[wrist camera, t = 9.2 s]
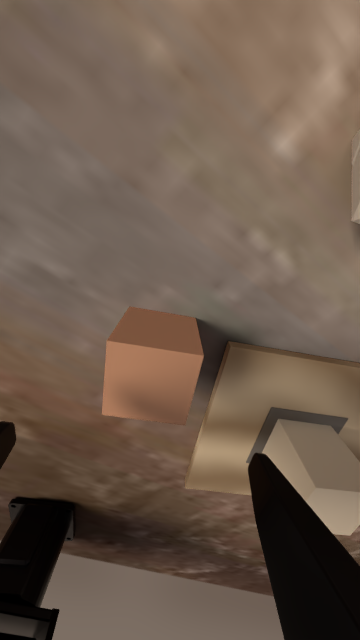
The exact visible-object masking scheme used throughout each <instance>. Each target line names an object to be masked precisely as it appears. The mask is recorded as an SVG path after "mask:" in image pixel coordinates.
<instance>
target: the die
mask: <svg viewBox="0 0 360 640" xmlns="http://www.w3.org/2000/svg"><path fill="white" fill-rule="evenodd" d="M352 166H353V167H352V221H353V222H355V223H358V224H360V130H359V131H358V132H357V133H356V135H355V136H354V137H353V139H352Z"/></svg>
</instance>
